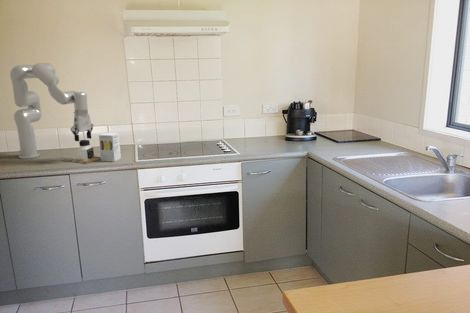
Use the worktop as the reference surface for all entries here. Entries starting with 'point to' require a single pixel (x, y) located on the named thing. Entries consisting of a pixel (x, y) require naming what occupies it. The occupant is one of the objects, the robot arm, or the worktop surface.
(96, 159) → the oak trivet
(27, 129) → the robot arm
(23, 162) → the worktop surface
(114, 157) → the supplement box
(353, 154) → the worktop surface
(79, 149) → the medicine bottle
